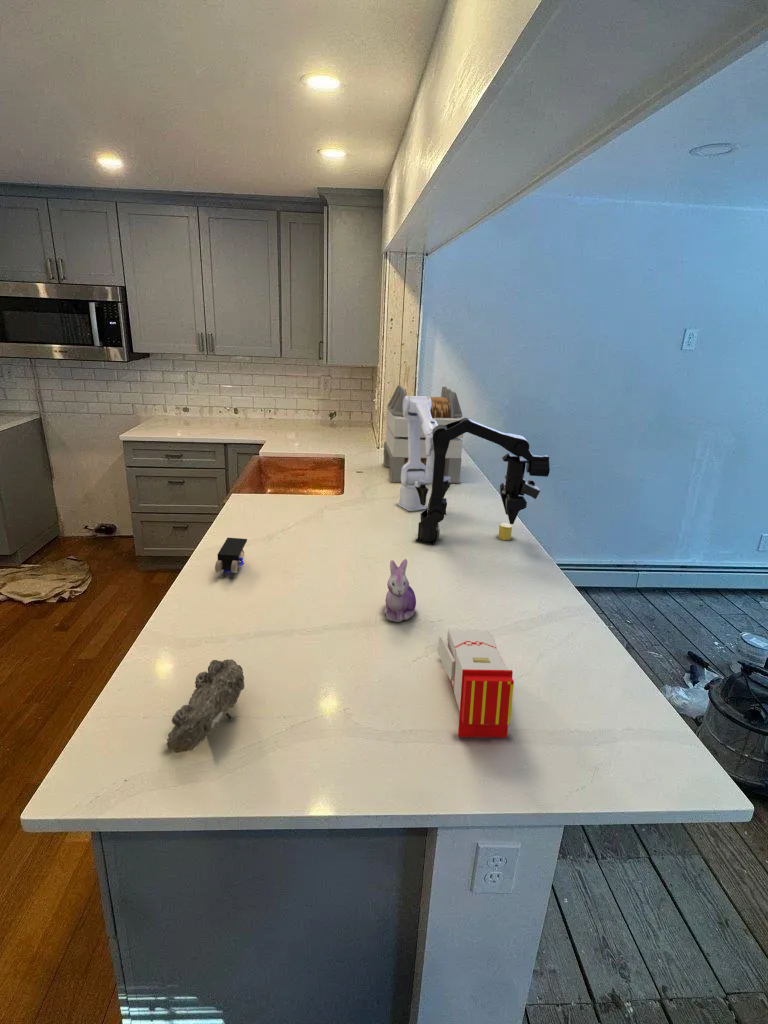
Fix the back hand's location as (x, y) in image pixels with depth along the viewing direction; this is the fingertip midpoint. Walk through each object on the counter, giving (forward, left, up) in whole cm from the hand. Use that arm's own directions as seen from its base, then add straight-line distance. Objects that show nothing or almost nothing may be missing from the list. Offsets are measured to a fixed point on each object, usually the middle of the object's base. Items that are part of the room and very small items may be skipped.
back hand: (431, 503), depth 205 cm
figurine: (+48, -44, -9) cm, 66 cm away
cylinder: (+20, +18, -9) cm, 29 cm away
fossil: (+65, -97, -9) cm, 117 cm away
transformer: (-61, +37, -9) cm, 72 cm away
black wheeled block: (+4, -74, -9) cm, 75 cm away
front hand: (+26, +14, 0) cm, 29 cm away
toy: (+82, -48, -9) cm, 95 cm away
